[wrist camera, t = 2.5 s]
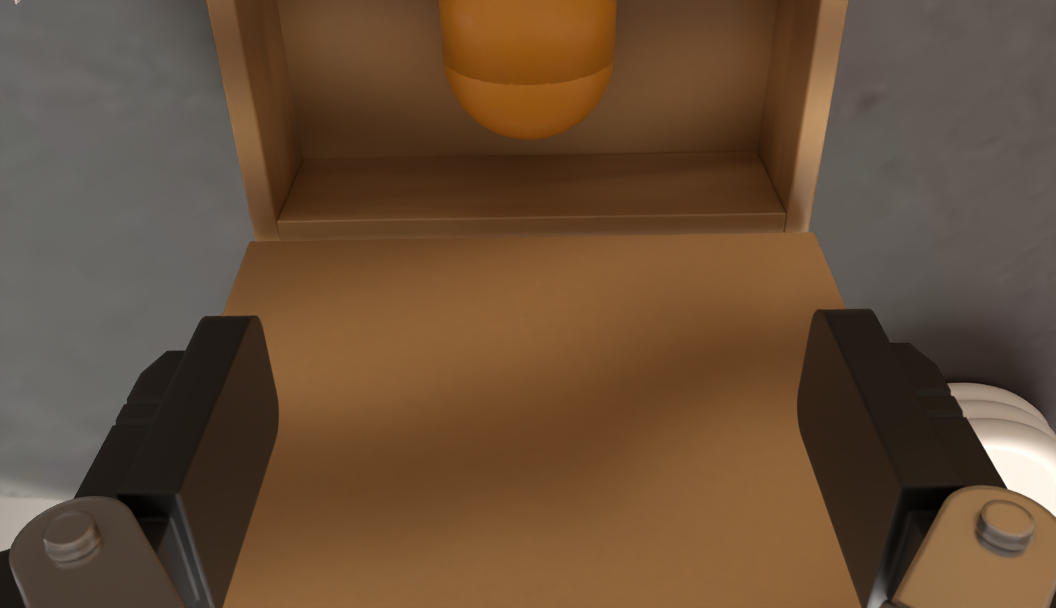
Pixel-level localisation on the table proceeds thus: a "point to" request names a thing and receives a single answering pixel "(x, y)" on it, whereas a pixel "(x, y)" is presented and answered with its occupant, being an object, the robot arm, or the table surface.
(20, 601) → the robot arm
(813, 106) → the wooden box
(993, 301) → the table surface
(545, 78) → the mango
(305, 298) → the lid
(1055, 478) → the coaster
